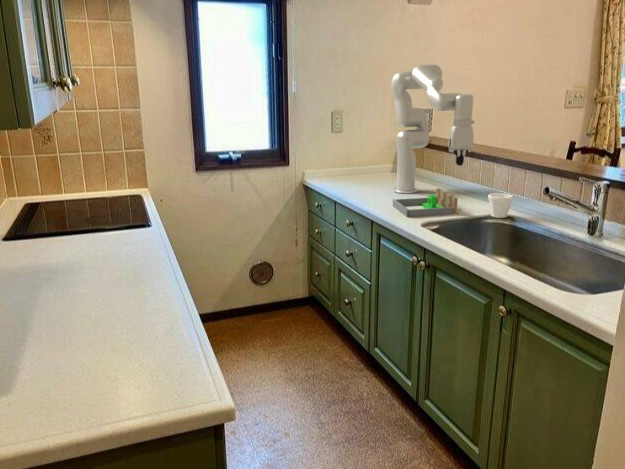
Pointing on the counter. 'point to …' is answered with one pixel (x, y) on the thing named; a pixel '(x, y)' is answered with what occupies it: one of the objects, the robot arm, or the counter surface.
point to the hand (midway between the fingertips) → (459, 164)
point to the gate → (446, 200)
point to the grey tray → (401, 204)
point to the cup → (499, 204)
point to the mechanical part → (431, 202)
